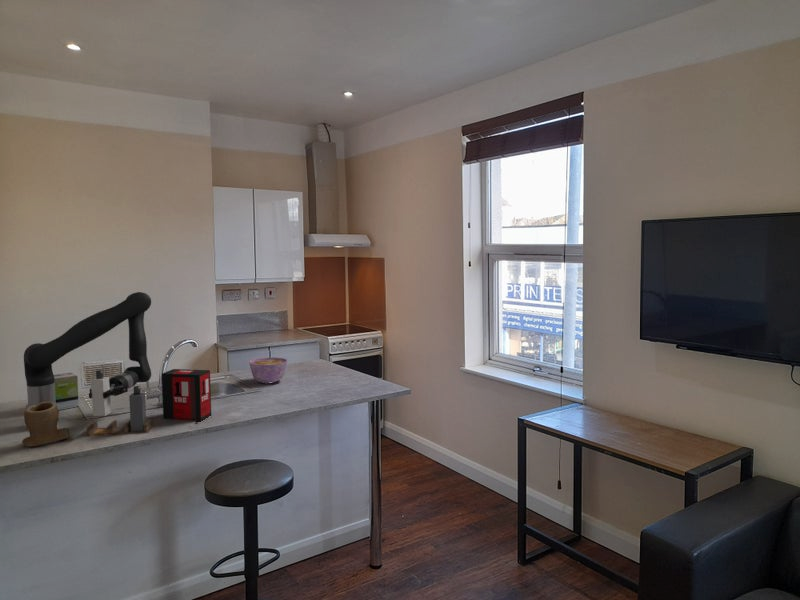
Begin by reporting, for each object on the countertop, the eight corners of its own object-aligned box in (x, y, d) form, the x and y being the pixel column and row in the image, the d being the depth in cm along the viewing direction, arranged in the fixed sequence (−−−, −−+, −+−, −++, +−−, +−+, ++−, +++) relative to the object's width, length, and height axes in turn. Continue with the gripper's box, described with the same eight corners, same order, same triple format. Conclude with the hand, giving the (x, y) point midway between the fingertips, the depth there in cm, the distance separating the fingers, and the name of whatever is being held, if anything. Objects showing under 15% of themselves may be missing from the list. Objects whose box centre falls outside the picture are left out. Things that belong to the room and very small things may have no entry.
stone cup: (25, 452, 188) (23, 410, 186) (20, 443, 196) (17, 403, 195) (75, 442, 198) (73, 402, 197) (68, 434, 207) (65, 395, 205)
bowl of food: (241, 383, 286) (241, 361, 285) (270, 376, 302) (270, 355, 301) (267, 388, 275) (266, 366, 274) (295, 381, 291) (295, 360, 290)
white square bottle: (93, 416, 204) (90, 372, 202) (99, 412, 208) (96, 369, 206) (105, 415, 204) (102, 371, 202) (111, 412, 208) (108, 369, 206)
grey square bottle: (130, 431, 206) (128, 388, 205) (134, 427, 211) (132, 385, 209) (143, 431, 207) (141, 387, 206) (146, 427, 212) (144, 384, 210)
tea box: (40, 414, 231) (38, 380, 230) (34, 409, 238) (32, 377, 237) (79, 407, 242) (77, 374, 241) (72, 402, 249) (70, 371, 248)
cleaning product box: (211, 416, 229) (209, 370, 227) (200, 422, 220) (199, 375, 218) (175, 414, 231) (173, 369, 229) (163, 421, 222) (161, 373, 221)
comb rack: (84, 439, 201) (84, 429, 200) (94, 430, 210) (93, 420, 210) (148, 435, 205) (147, 425, 205) (154, 427, 215) (154, 417, 214)
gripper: (101, 375, 219) (77, 386, 202) (136, 374, 219) (115, 385, 202) (102, 393, 219) (78, 405, 202) (137, 392, 220) (116, 405, 203)
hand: (97, 395), depth 202 cm, fingers closed on white square bottle, 4 cm apart
